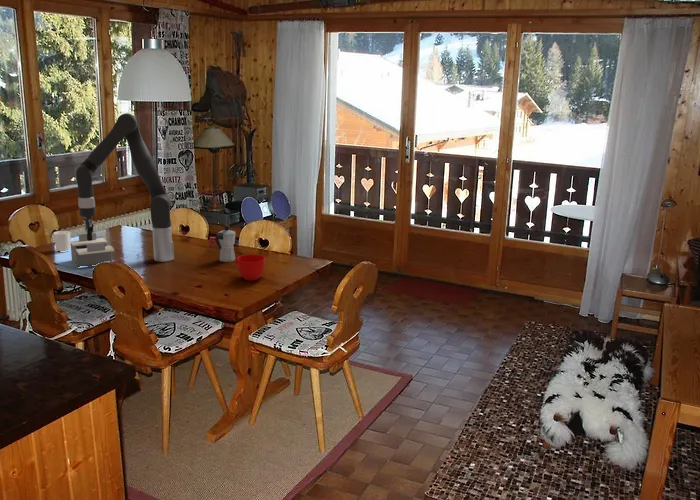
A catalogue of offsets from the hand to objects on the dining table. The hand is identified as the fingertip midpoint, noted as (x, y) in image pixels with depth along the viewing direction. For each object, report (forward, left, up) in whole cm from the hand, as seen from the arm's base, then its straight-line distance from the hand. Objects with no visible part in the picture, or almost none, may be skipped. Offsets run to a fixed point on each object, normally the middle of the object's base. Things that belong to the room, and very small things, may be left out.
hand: (89, 240), depth 328 cm
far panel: (0, -3, -2) cm, 4 cm away
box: (0, +1, -11) cm, 11 cm away
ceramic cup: (-60, +58, -12) cm, 84 cm away
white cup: (+9, -27, -12) cm, 31 cm away
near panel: (0, +13, -2) cm, 13 cm away
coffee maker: (-61, +26, -12) cm, 67 cm away
